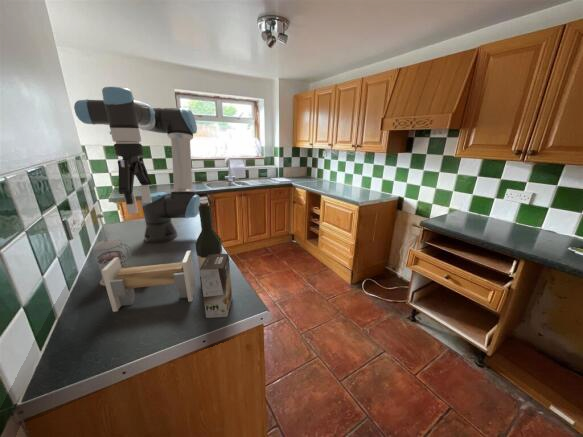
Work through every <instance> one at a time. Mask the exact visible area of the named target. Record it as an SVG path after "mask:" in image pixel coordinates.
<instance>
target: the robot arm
mask: <svg viewBox="0 0 583 437" xmlns="http://www.w3.org/2000/svg"><path fill="white" fill-rule="evenodd" d="M101 90H102V91H101V92H102V100H101V99H78V100H76V101H75V103H74V105H73V106H74V107H73V109H74V112H75V116H76V117H77V118H78V120H79V121H80V123H81V122H82V123H84V124H87V125H105V126H106V125H107V126H109V129H110V131H109V135H111V138H112V141H113V142H115V143H114V144H113V148H114V153H115V155H116V156H117V157H122V159H120V160H119V159H117V165H118V194H119V195H123V197H124V202H125V207H126V210H127V214H128V215H133V214H139V208H138V204H137V200H136V194H135V192H134V182H135V177H136V179H137V180H138V182H139V184H140V185H139V188H140V194H141V201H140V202H141V207H142V212H143V218H144V221H145V228H144V229H145V231H144V235H143V237H144V241H145V242H147V243H152V244H155V243H157V244H158V243H164V242H169V241H171V240H173V239H175V238H177V237H178V231H177V229H176V227H175V226H174V224H173V222H172V219H191V218H196V217H197V216H198V214H200V213H199V205H200V202H201V196H200V195H198V194H197V192H196V190H195V189H194V188H193V176H192V175H193V173H192V170H193V169H192V157H191V156H192V153H191V152H192V151H191V140H193V139H194V135H195V134H196V133H197V131H198V126H197V122H196V118H195V116H194V114H193V112H192V110H191V109H189V108H187V107H186V108H183V107H153V108H152V106H150V104H147V103H146V102H144V101H142V100H135V99H134V96H133V92H132V91H131V89H129V88H127V87H121V86H120V87H119V86H105V87H103V88H102V89H101ZM140 130H141V131H145V132H152V133H158V134H167V137H168V138H169V139H170V141H171V142H170V143H171V158H172V160H171V161H172V176H173V177H172V179H173V188H172V189H171V191H170V195H168V193H167V192H166V191H161V192H153V193H151V190H150V186H151V185H152V181H151V179H150V176H149V173H148V170H147V168H146V165H145V163H144V157H142V156H144V149H143V144H142V143H140V142H142V138H141V132H140ZM149 185H150V186H149Z"/></svg>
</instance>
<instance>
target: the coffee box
mask: <svg viewBox="0 0 583 437" xmlns="http://www.w3.org/2000/svg"><path fill="white" fill-rule="evenodd" d="M200 273H201V281H202V287H201V288H202V296H203V304H204V311H205V318H206V319H209V318H210V319H212V318H226V317H228V316H229V311H230V308H231V303H232V301H233V290H232V289H233V288H232V280H231V278H232V277H231V267H230V254H229V253H223V254H214V255H208V256H207V258H206V259H205V261H204V263H203V264H202V266H201V268H200ZM201 281H200V282H201Z"/></svg>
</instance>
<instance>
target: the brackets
mask: <svg viewBox="0 0 583 437" xmlns="http://www.w3.org/2000/svg"><path fill="white" fill-rule="evenodd" d="M108 263H109V264H108ZM108 263H107V264H108V265H107V266H106V267H105V268H104V269H103V270H102V275H103V278H104V282H105V285H106V286H105V288H106V293H107V295H108V298H109V302H110V306H111V309H112V312H113V313H115V312H118V311H119V309H120V308H121V307H122V306H130V305H133V304H134V302H135V300H136V294H135V290H134V288H130V289H126V288H125V284H124V280H123V279H118V280H117V277H116V275H117V273H118V272H119V271H120V270H121V269H122V268H121V264H120V260H119V257H116V258H114V259H113V260H112V261H109V262H108ZM182 265H183V271H184V272H182V273H174V281H175V283H174V285H175V290H178V295H179V299H182V298H187V301H188V302H189V303H190V302H193V299H194V296H195V292H196V288H197V284H196V278H195V269H194V264H193V256H192V250H186V252H185V255H184V257H183V259H182ZM102 275H101V276H102Z"/></svg>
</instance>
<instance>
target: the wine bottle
mask: <svg viewBox="0 0 583 437" xmlns="http://www.w3.org/2000/svg"><path fill="white" fill-rule="evenodd" d="M211 212H212V210H211V205H210V203H209V202H208V201H200V205H199V213H198V214H199V219H200V226H201V231H200V233H199V235H198V237H197V239H196V241H195V243H194V244H195V251H196V258H197V259H196V260H197V265H198V273H199V280H200V287H201V288H202V281H201V273H200V268H201V266H202V264H203V263H204V261H205V259H206V258H207V256H208V255H214V254H224V253H223V244H222V238H221V237H220V235H218V233H217V232H216V231H215V230H214V229H213V222H212V213H211Z"/></svg>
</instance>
